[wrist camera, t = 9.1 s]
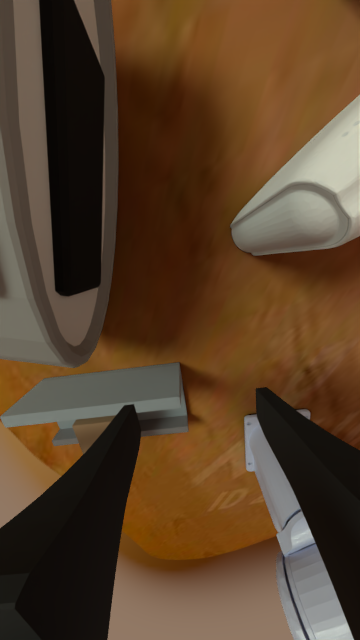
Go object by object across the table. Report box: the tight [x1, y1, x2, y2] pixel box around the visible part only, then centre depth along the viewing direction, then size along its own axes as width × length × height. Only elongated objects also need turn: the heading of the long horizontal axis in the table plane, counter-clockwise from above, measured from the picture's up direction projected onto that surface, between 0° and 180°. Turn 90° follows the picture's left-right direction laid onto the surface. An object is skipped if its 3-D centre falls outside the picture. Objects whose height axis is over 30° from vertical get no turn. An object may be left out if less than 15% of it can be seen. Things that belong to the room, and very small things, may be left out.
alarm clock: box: [0, 0, 119, 368], centre depth 10 cm, size 23×6×13 cm, turn 172°
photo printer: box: [230, 95, 360, 256], centre depth 11 cm, size 10×4×12 cm, turn 134°
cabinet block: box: [72, 415, 138, 454], centre depth 20 cm, size 5×4×5 cm
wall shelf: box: [0, 362, 188, 446], centre depth 20 cm, size 8×16×6 cm, turn 98°
